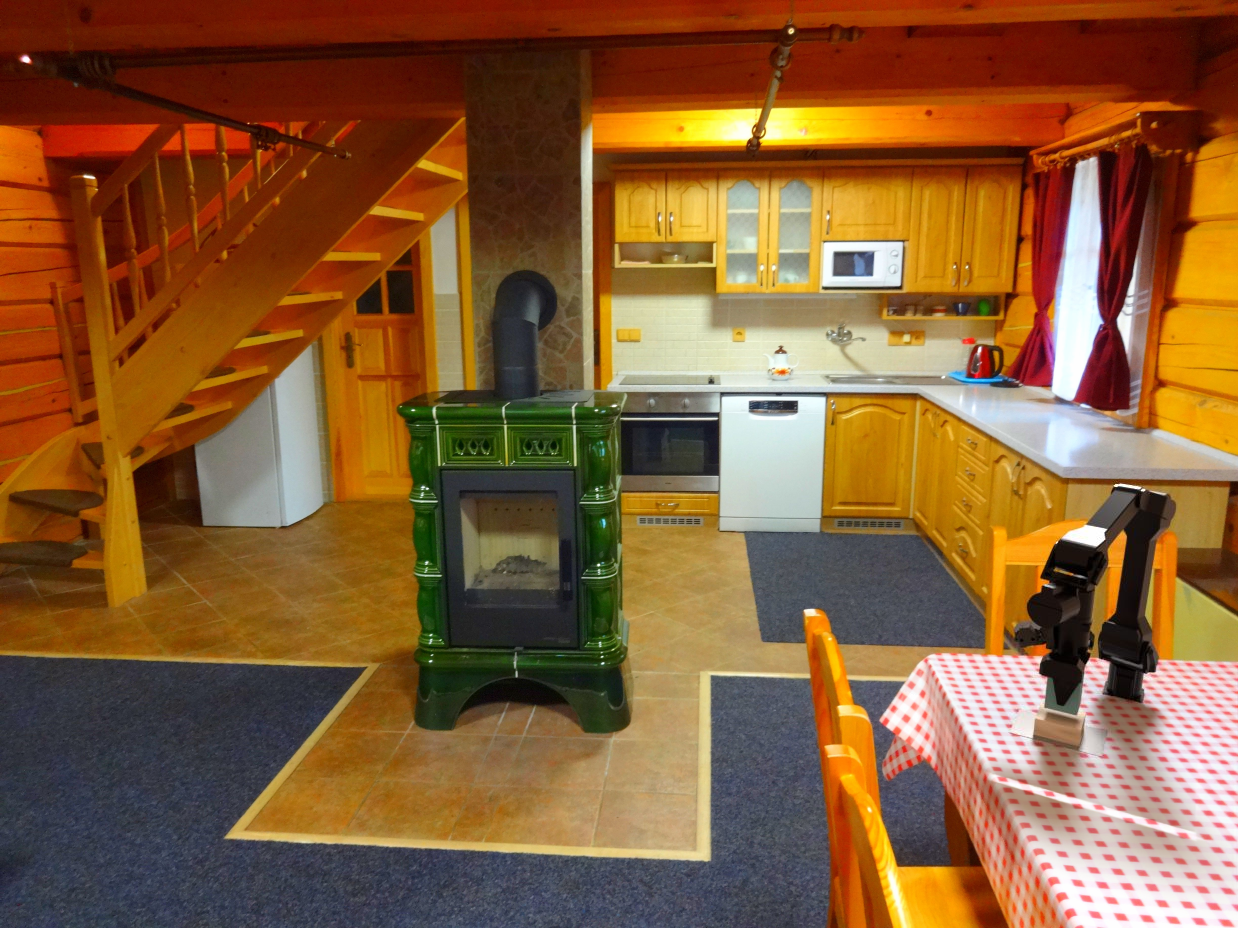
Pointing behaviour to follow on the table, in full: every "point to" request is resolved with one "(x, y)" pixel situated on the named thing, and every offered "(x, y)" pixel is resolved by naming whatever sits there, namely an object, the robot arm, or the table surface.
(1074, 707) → the teal block
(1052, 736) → the maple base block
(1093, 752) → the baseplate
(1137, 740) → the table surface
